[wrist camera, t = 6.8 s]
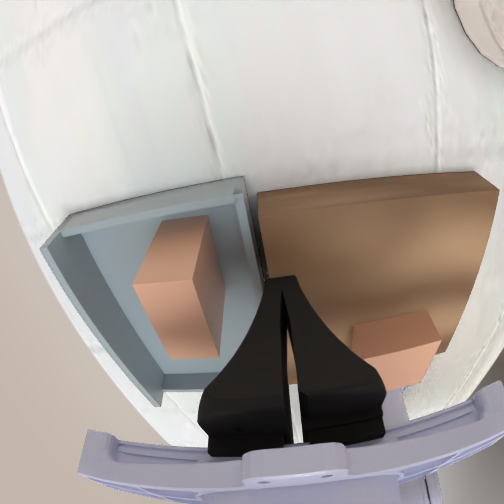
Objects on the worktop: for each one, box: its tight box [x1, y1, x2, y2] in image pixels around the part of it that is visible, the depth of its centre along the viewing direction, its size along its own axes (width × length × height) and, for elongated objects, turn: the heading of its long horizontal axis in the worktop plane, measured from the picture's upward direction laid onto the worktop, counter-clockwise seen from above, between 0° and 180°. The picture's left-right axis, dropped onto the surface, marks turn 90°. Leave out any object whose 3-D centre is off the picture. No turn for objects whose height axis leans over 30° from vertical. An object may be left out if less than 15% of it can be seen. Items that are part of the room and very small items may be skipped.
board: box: [257, 172, 500, 385], centre depth 17 cm, size 14×13×2 cm
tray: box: [40, 176, 265, 407], centre depth 18 cm, size 16×10×4 cm, turn 10°
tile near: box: [132, 215, 226, 359], centre depth 15 cm, size 5×5×2 cm
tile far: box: [351, 310, 442, 391], centre depth 17 cm, size 5×5×2 cm
